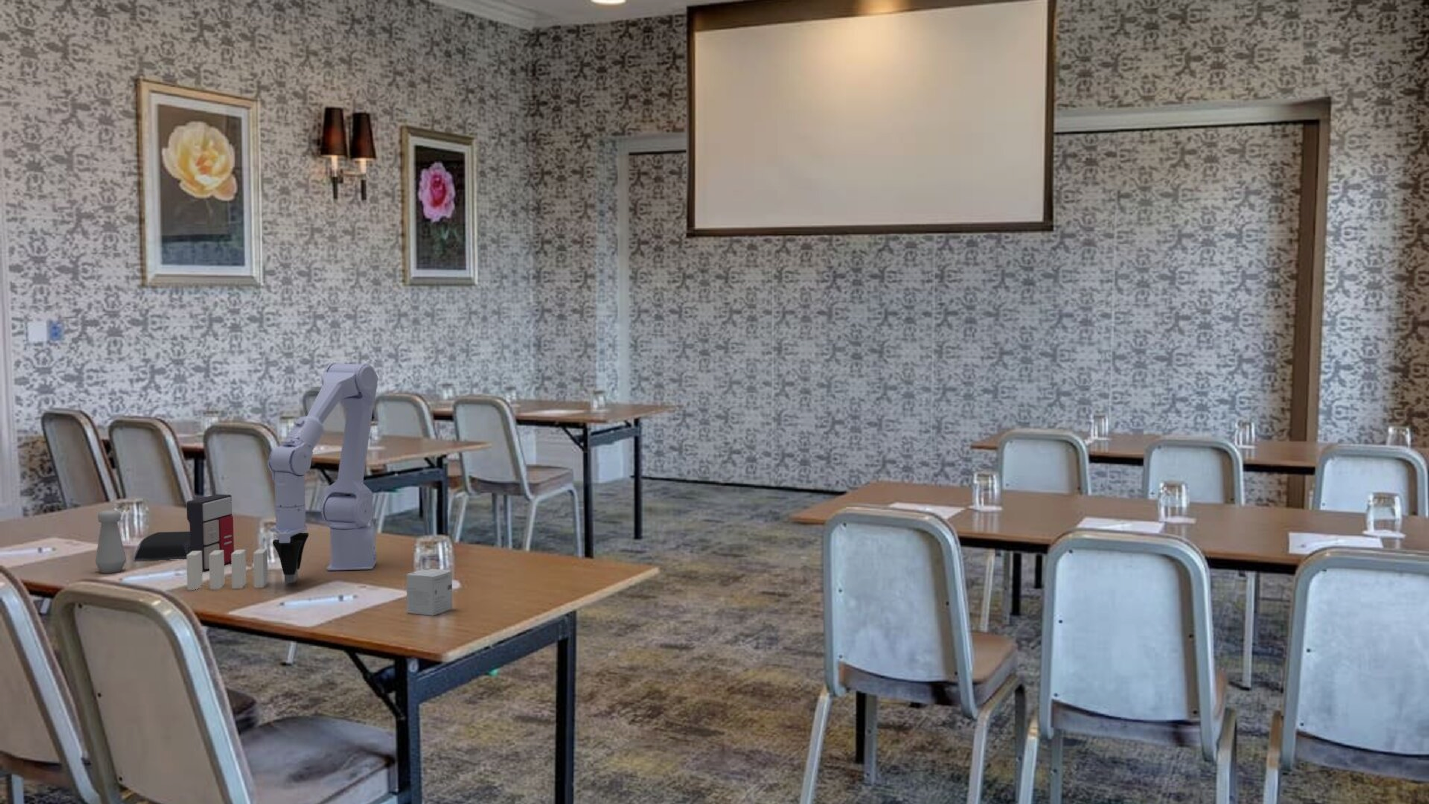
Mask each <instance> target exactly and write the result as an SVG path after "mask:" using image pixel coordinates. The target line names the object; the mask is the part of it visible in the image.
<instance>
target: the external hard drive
mask: <svg viewBox="0 0 1429 804" xmlns="http://www.w3.org/2000/svg"><path fill="white" fill-rule="evenodd" d="M190 552H191V551H190V530H189V531H157V532H153V533H151V534H149V535H147V536H145V537H144V538H142V539H141V540H140V542H139V544H138V546H137V548H136V551H135V553H134V556H133V559H132V562H134V563H135V562H158V561H159V560H166V561H171V560H170V559H187V555H188V554H189V553H190Z"/></svg>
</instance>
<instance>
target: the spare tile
mask: <svg viewBox="0 0 1429 804" xmlns="http://www.w3.org/2000/svg"><path fill="white" fill-rule="evenodd" d="M298 577H299V569H298V562H297V568H296V572H295V574H294V575H284V583H285V584H287V583H295V582H296V581H297V579H298Z"/></svg>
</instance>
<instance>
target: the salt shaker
mask: <svg viewBox="0 0 1429 804" xmlns="http://www.w3.org/2000/svg"><path fill="white" fill-rule="evenodd" d="M121 518H122V515H121V512H120V511H119V510H117V509H116V510H115V509H107V510H102V511H100V512H99V513H98V514H97V521H98V523H101V524H100V529H99V536H98V543H97V549H96V555H95V564H96V566H97V569H98V570H99V572H100V573H102V574H115V573H119V572H122V570H123V567H124V566H125V564H126V562H127V556H126V552H125V548H124V545H123V541H122V537H121V532H120V528H119V524H118V522H120V521H121Z"/></svg>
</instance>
